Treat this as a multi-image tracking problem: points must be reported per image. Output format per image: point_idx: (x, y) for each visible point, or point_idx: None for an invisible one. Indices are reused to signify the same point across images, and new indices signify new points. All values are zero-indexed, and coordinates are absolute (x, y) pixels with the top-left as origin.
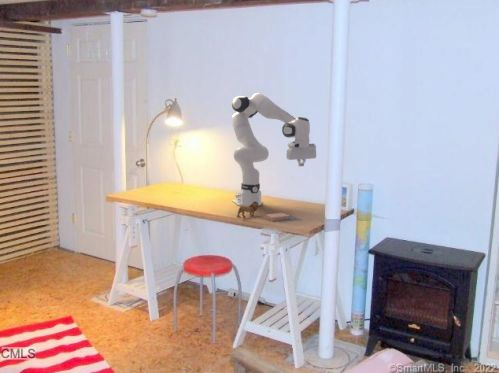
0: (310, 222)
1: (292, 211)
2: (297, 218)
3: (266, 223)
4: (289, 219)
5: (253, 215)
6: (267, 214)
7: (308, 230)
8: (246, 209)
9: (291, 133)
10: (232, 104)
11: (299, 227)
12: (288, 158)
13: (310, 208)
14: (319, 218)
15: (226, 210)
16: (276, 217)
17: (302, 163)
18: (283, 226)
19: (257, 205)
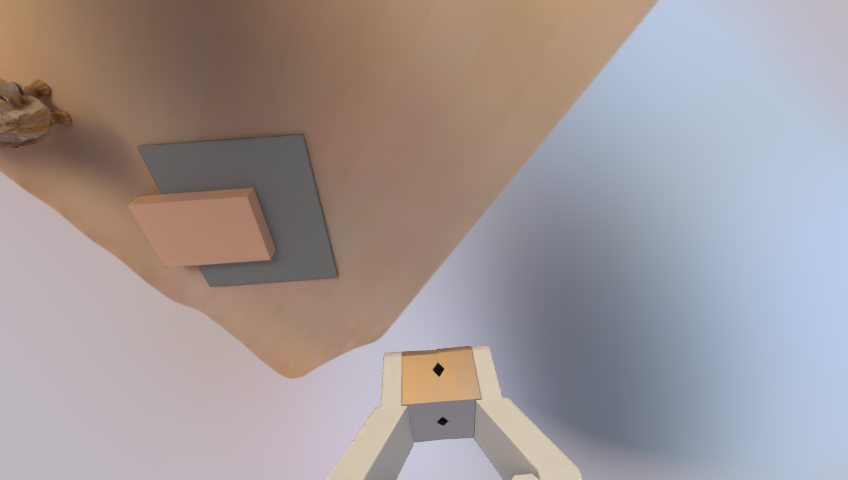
0: (358, 303)
1: (372, 73)
2: (322, 250)
3: (143, 265)
4: (274, 254)
5: (55, 122)
6: (142, 206)
7: (301, 374)
8: None
9: None
10: None
11: (282, 343)
12: None
13: (544, 32)
14: (435, 263)
15: None
16: (191, 264)
17: (459, 433)
18: (219, 319)
19: (29, 139)
